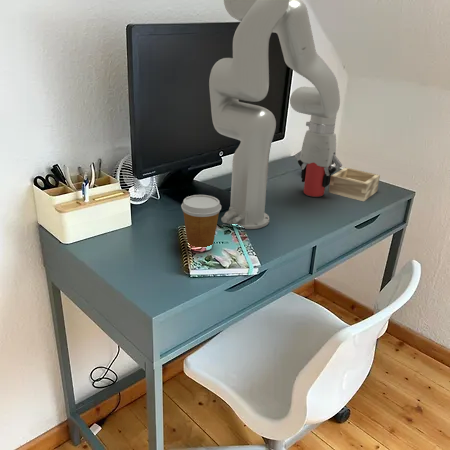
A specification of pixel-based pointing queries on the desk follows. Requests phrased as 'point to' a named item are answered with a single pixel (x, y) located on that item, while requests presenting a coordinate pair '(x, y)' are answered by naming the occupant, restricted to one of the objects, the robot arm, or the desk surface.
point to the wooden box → (354, 184)
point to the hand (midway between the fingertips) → (314, 183)
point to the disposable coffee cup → (200, 219)
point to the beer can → (314, 180)
